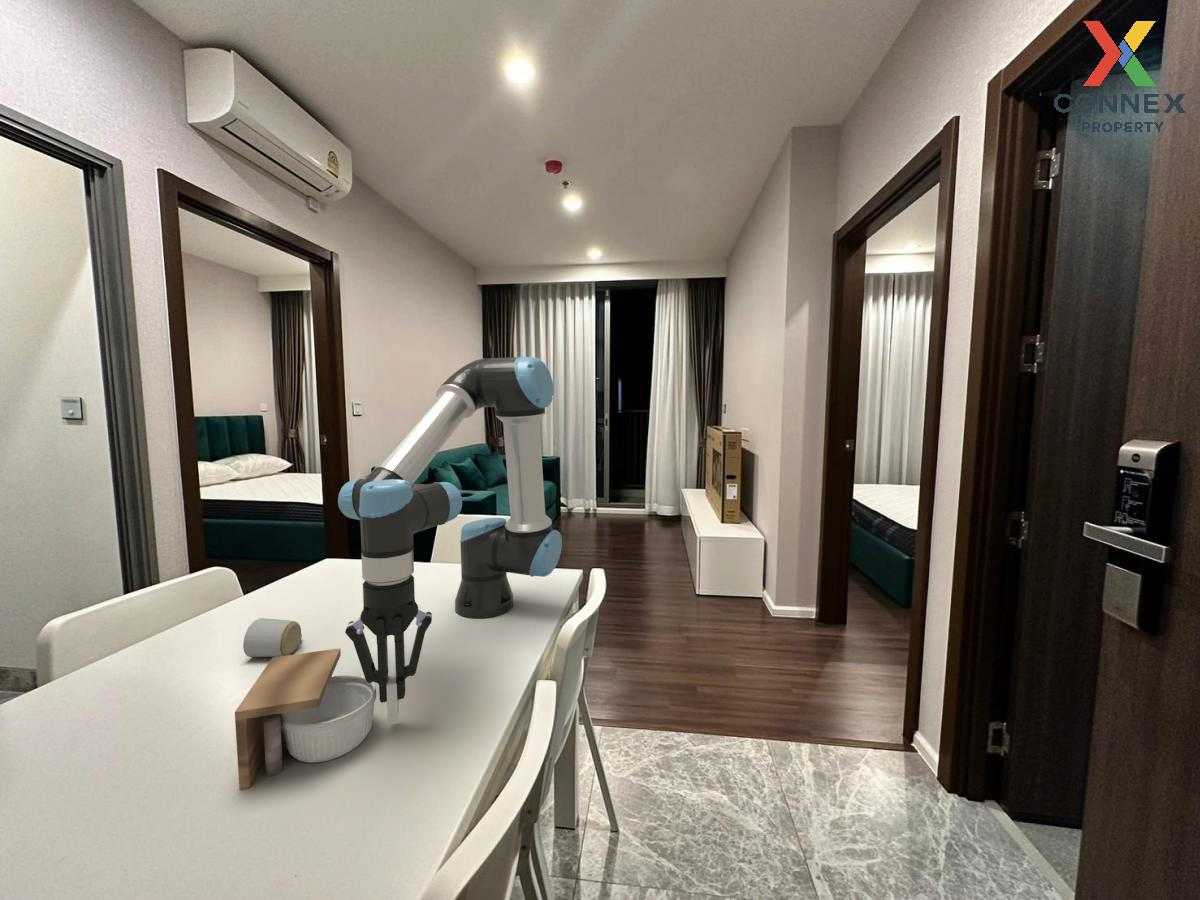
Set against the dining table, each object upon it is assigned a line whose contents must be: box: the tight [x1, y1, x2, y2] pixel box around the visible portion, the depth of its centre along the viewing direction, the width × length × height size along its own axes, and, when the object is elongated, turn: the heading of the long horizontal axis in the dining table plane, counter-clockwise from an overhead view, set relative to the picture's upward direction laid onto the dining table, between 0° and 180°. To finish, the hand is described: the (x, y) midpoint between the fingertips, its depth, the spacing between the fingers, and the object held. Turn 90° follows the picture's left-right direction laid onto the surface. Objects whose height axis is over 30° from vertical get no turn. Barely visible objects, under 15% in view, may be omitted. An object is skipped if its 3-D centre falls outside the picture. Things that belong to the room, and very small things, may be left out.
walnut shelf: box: [234, 648, 342, 790], centre depth 73 cm, size 10×15×11 cm, turn 18°
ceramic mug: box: [242, 617, 303, 658], centre depth 102 cm, size 11×8×8 cm
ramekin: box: [280, 674, 377, 764], centre depth 75 cm, size 13×13×7 cm
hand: (393, 717), depth 78 cm, fingers closed
